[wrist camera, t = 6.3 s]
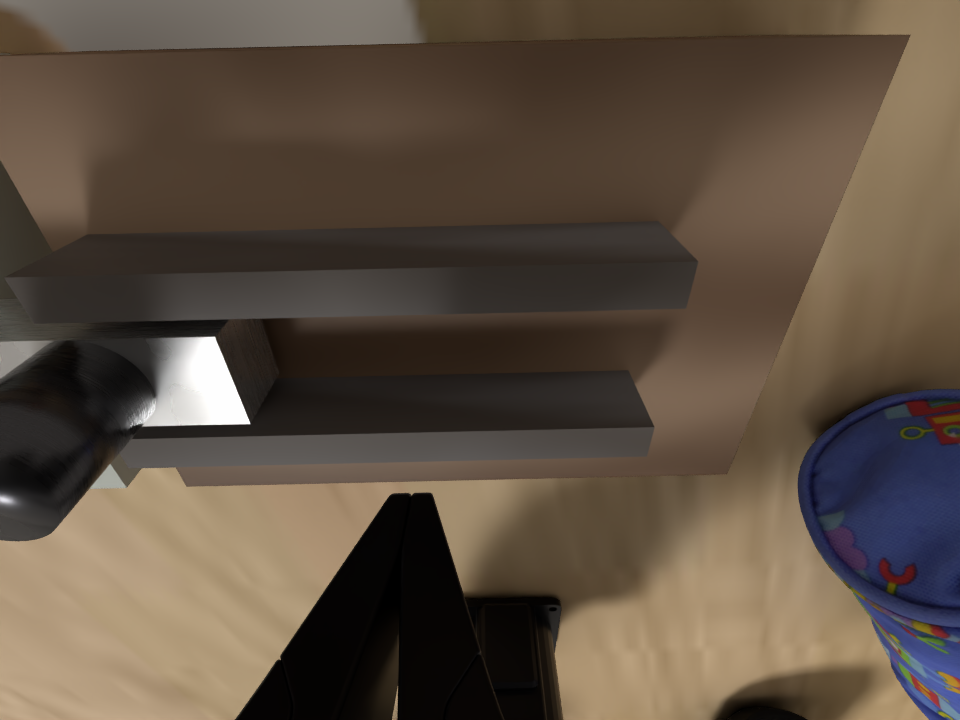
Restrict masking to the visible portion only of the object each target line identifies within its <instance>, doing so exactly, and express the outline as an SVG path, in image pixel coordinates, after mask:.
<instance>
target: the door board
mask: <svg viewBox="0 0 960 720" xmlns="http://www.w3.org/2000/svg"><path fill="white" fill-rule="evenodd" d="M909 37H910V35H760V36H718V37H675V38H632V39H589V40H547V41H504V42H461V43H419V44H378V45H336V46H335V45H334V46H292V47H252V48H251V47H248V48H207V49H163V50H121V51H82V52H59V53H36V54H13V55H0V160H1V162H2V164H3V166H4V167H5V169H6V171H7V173H8V174H9V176H10V178H11V180H12V181H13V183H14V185H15V187H16V188H17V190H18V192H19V194H20V195H21V197H22V199H23V201H24V202H25V204H26V206H27V208H28V209H29V211H30V213H31V215H32V216H33V218H34V220H35V222H36V223H37V225H38V227H39V229H40V230H41V232H42V234H43V236H44V237H45V239H46V241H47V243H48V244H49V246H50V248H51V250H52V251H53V252H52V253H50V254H49V255H47V256H45V257H43V258H41V259H39V260H37V261H35V262H33V263H31V264H29V265H27V266H25V267H23V268H22V269H20V270H18V271H16V272H14V273H12V274H10V275H8V276H6V277H4V278H5V280H6V281H7V283H8V285H9V286H10V288H11V289H12V291H13V292H14V294H15V295H16V297H17V298H18V300H19V301H20V303H21V304H22V306H23V307H24V309H25V310H26V312H27V314H28V315H29V317H30V318H31V320H32V321H33V323H34V324H46V323H90V322H133V321H177V320H220V319H262V322H263V325H264V328H265V331H266V334H267V337H268V340H269V343H270V346H271V349H272V352H273V355H274V358H275V361H276V364H277V367H278V370H279V374H278V376H277V378H276V380H275V381H274V383H273V385H272V387H271V388H270V390H269V392H268V394H267V395H266V397H265V399H264V401H263V402H262V404H261V406H260V408H259V409H258V411H257V413H256V415H255V416H254V418H253V420H252V422H251V423H250V424H224V425H180V426H142V427H141V428H140V429H139V431H138V432H137V433H136V434H135V435H134V436H133V438H132V439H131V440H130V441H129V442H128V444H127V445H126V446H125V447H124V448H123V450H122V451H121V452H120V453H119V454H120V455H121V457H122V459H123V460H124V462H125V463H126V465H127V466H128V468H169V467H176V469H177V470H178V472H179V474H180V476H181V477H182V479H183V481H184V483H185V485H186V486H187V487H188V486H232V485H276V484H320V483H364V482H408V481H452V480H496V479H540V478H584V477H628V476H672V475H716V474H727V473H728V471H729V468H730V466H731V464H732V461H733V459H734V456H735V454H736V452H737V449H738V447H739V444H740V442H741V440H742V437H743V435H744V432H745V430H746V428H747V425H748V423H749V420H750V418H751V416H752V413H753V411H754V408H755V406H756V404H757V401H758V399H759V396H760V394H761V392H762V389H763V387H764V384H765V382H766V380H767V377H768V375H769V373H770V370H771V368H772V365H773V363H774V361H775V358H776V356H777V353H778V351H779V349H780V346H781V344H782V341H783V339H784V337H785V334H786V332H787V329H788V327H789V325H790V322H791V320H792V317H793V315H794V313H795V310H796V308H797V305H798V303H799V301H800V298H801V296H802V294H803V291H804V289H805V286H806V284H807V282H808V279H809V277H810V274H811V272H812V270H813V267H814V265H815V262H816V260H817V258H818V255H819V253H820V250H821V248H822V246H823V243H824V241H825V238H826V236H827V234H828V231H829V229H830V226H831V224H832V222H833V219H834V217H835V215H836V212H837V210H838V207H839V205H840V203H841V200H842V198H843V195H844V193H845V191H846V188H847V186H848V183H849V181H850V179H851V176H852V174H853V171H854V169H855V167H856V164H857V162H858V159H859V157H860V155H861V152H862V150H863V147H864V145H865V143H866V140H867V138H868V136H869V133H870V131H871V128H872V126H873V124H874V121H875V119H876V116H877V114H878V112H879V109H880V107H881V104H882V102H883V100H884V97H885V95H886V92H887V90H888V88H889V85H890V83H891V80H892V78H893V76H894V73H895V71H896V68H897V66H898V64H899V61H900V59H901V57H902V54H903V52H904V49H905V47H906V45H907V42H908V40H909Z"/></svg>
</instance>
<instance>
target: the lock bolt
mask: <svg viewBox="0 0 960 720" xmlns="http://www.w3.org/2000/svg"><path fill="white" fill-rule="evenodd" d="M278 374H279V370H278V367H277V364H276V361H275V358H274V355H273V352H272V349H271V346H270V343H269V340H268V337H267V334H266V331H265V328H264V325H263V322H262V319H220V320H177V321H133V322H90V323H46V324H34V323H33V321H32V320H31V318H30V317H29V315H28V314H27V312H26V310H25V309H24V307H23V306H22V304H21V303H20V301H19V300H18V298H0V540H5V541H29V540H35V539H39V538H42V537H45V536H47V535H49V534H50V533H52V532H53V531H54V530H55V529H56V528H57V526H58V525H59V524H60V523H61V522H62V521H63V519H64V518H65V517H66V516H67V515H68V513H69V512H70V511H71V510H72V509H73V508H74V506H75V505H76V504H77V503H78V502H79V500H80V499H81V498H82V497H83V496H84V495H85V493H86V492H87V491H88V490H89V489H90V487H91V486H92V485H93V484H94V483H95V481H96V480H97V479H98V478H99V477H100V476H101V474H102V473H103V472H104V471H105V470H106V468H107V467H108V466H109V465H110V464H111V463H112V461H113V460H114V459H115V458H116V457H117V455H118V454H119V453H120V452H121V451H122V450H123V448H124V447H125V446H126V445H127V444H128V442H129V441H130V440H131V439H132V438H133V436H134V435H135V434H136V433H137V432H138V431H139V429H140V428H141V427H142V426H180V425H224V424H250V423H251V422H252V420H253V418H254V416H255V415H256V413H257V411H258V409H259V408H260V406H261V404H262V402H263V401H264V399H265V397H266V395H267V394H268V392H269V390H270V388H271V387H272V385H273V383H274V381H275V380H276V378H277V376H278Z"/></svg>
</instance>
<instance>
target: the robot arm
mask: <svg viewBox="0 0 960 720" xmlns="http://www.w3.org/2000/svg"><path fill="white" fill-rule="evenodd" d="M560 615H561V603H560V600H559V599H557V598H528V599H483V600H465V598H464V594H463V591H462V588H461V585H460V581H459V578H458V575H457V572H456V568H455V565H454V562H453V559H452V555H451V552H450V549H449V546H448V543H447V539H446V536H445V533H444V530H443V526H442V523H441V520H440V517H439V513H438V510H437V507H436V504H435V500H434V497H433V495H432V494H431V493H414V494H413V495H412V496H411V494H409V493H394V494H391V495H390V496H389V497H388V499H387V500H386V502H385V503H384V504H383V506H382V507H381V509H380V510H379V512H378V513H377V515H376V516H375V518H374V519H373V521H372V522H371V523H370V525H369V526H368V528H367V529H366V531H365V532H364V534H363V535H362V537H361V538H360V540H359V541H358V543H357V544H356V545H355V547H354V548H353V550H352V551H351V553H350V554H349V556H348V557H347V559H346V560H345V562H344V563H343V565H342V566H341V567H340V569H339V570H338V572H337V573H336V575H335V576H334V578H333V579H332V581H331V582H330V584H329V585H328V586H327V588H326V589H325V591H324V592H323V594H322V595H321V597H320V598H319V600H318V601H317V603H316V604H315V606H314V607H313V608H312V610H311V611H310V613H309V614H308V616H307V617H306V619H305V620H304V622H303V623H302V625H301V626H300V627H299V629H298V630H297V632H296V633H295V635H294V636H293V638H292V639H291V641H290V642H289V644H288V645H287V647H286V648H285V649H284V651H283V652H282V654H281V656H280V658H281V660H277V661H276V662H275V664H274V665H273V667H272V668H271V670H270V671H269V673H268V674H267V676H266V677H265V679H264V680H263V681H262V683H261V684H260V686H259V687H258V688H257V690H256V691H255V693H254V694H253V695H252V697H251V698H250V700H249V701H248V702H247V704H246V705H245V707H244V708H243V709H242V711H241V712H240V714H239V715H238V716H237V718H236V719H235V720H392V715H393V710H394V704H395V698H396V692H397V687H398V718H397V720H563V714H562V707H561V699H560V692H559V684H558V676H557V669H556V661H555V654H554V653H555V647H556V641H557V634H558V628H559V622H560Z"/></svg>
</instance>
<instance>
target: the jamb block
mask: <svg viewBox="0 0 960 720" xmlns="http://www.w3.org/2000/svg"><path fill="white" fill-rule="evenodd" d="M0 55H10V53H0ZM52 252H53V251H52V250H51V248H50V246H49V244H48V243H47V241H46V239H45V237H44V236H43V234H42V232H41V230H40V229H39V227H38V225H37V223H36V222H35V220H34V218H33V216H32V215H31V213H30V211H29V209H28V208H27V206H26V204H25V202H24V201H23V199H22V197H21V195H20V194H19V192H18V190H17V188H16V187H15V185H14V183H13V181H12V180H11V178H10V176H9V174H8V173H7V171H6V169H5V167H4V166H3V164H2V162H1V160H0V298H17V297H16V295H15V294H14V292H13V291H12V289H11V288H10V286H9V285H8V283H7V281H6V280H5V278H4V277H6V276H8V275H10V274H12V273H14V272H16V271H18V270H20V269H22V268H23V267H25V266H27V265H29V264H31V263H33V262H35V261H37V260H39V259H41V258H43V257H45V256H47V255H49V254H50V253H52ZM140 470H141V468H128V466H127V465H126V463H125V462H124V460H123V459H122V457H121V455H120V454H118V455H117V457H116V458H115V459H114V460H113V461H112V463H111V464H110V465H109V466H108V467H107V468H106V470H105V471H104V472H103V473H102V474H101V476H100V477H99V478H98V479H97V480H96V481H95V483H94V484H93V485H92V486H91V487H90V489H100V488H127V487H128V485H129V484H130V483H131V482H132V480H133V479H134V478H135V476H136V475H137V474H138V472H139V471H140Z"/></svg>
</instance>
